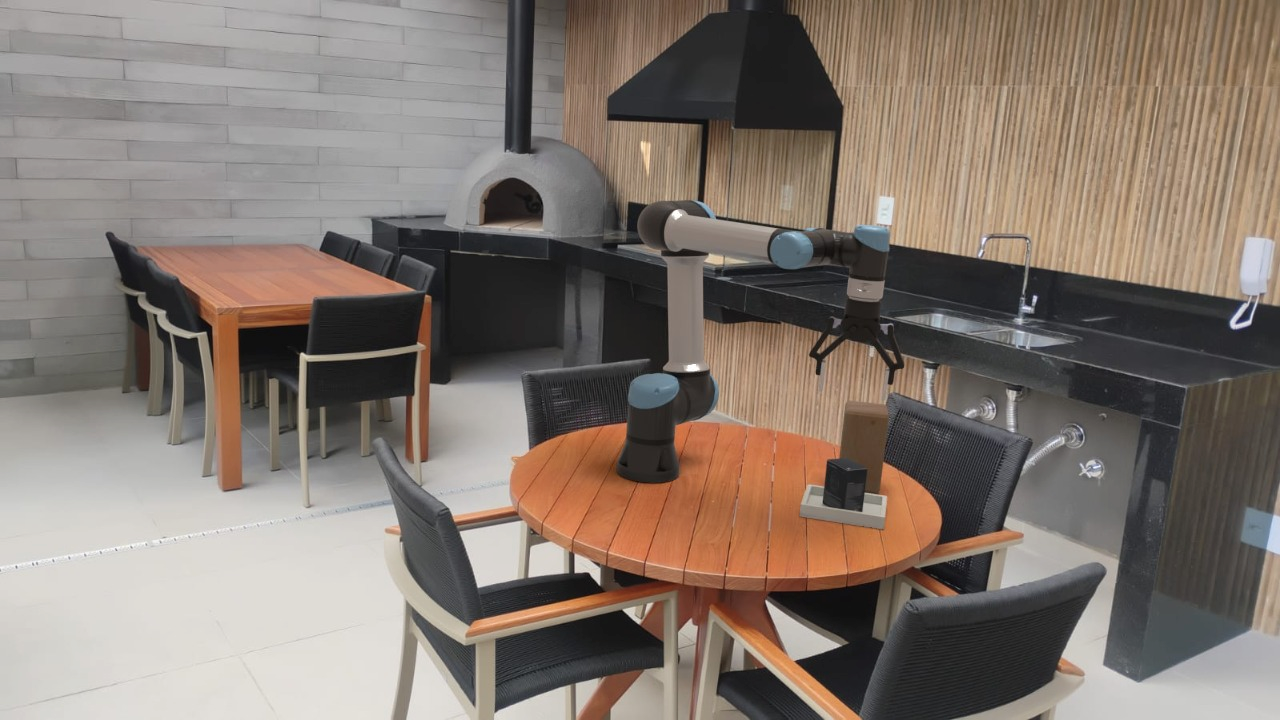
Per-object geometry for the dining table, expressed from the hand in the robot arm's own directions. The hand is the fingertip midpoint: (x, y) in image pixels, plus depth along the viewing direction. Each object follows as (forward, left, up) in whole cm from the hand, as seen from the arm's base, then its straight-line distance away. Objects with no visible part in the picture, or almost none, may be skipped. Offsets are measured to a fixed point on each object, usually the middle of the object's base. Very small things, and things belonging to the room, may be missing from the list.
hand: (851, 394), depth 215 cm
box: (+1, -1, -26) cm, 26 cm away
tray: (+1, -1, -27) cm, 27 cm away
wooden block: (+3, +18, -27) cm, 33 cm away
